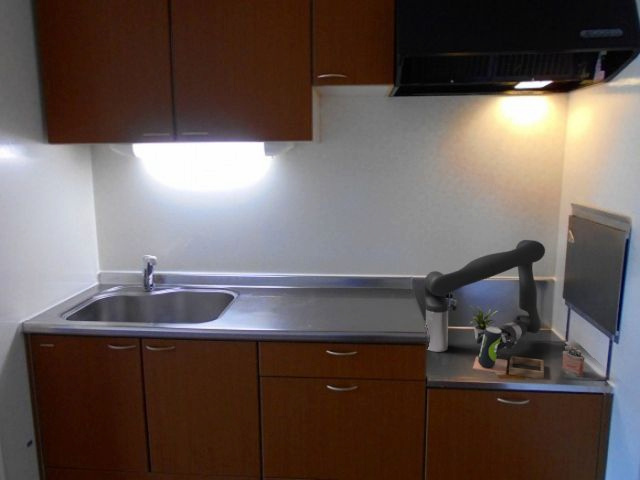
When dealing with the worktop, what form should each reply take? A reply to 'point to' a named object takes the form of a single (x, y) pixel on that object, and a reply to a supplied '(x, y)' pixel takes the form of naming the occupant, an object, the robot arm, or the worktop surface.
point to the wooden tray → (525, 371)
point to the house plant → (481, 321)
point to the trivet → (498, 367)
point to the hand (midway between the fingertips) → (487, 344)
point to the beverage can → (489, 346)
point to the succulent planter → (573, 361)
